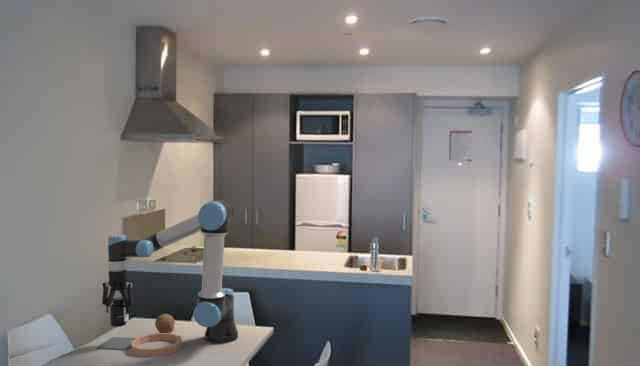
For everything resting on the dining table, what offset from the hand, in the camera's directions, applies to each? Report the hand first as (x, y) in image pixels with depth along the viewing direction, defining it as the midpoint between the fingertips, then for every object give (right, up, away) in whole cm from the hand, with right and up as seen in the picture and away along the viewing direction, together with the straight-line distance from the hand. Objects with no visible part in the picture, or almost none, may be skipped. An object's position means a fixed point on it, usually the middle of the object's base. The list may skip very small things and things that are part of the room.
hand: (118, 320), depth 242 cm
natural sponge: (+17, -10, +13) cm, 24 cm away
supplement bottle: (0, -2, 0) cm, 2 cm away
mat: (0, -11, 0) cm, 11 cm away
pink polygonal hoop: (+19, -11, -5) cm, 22 cm away
